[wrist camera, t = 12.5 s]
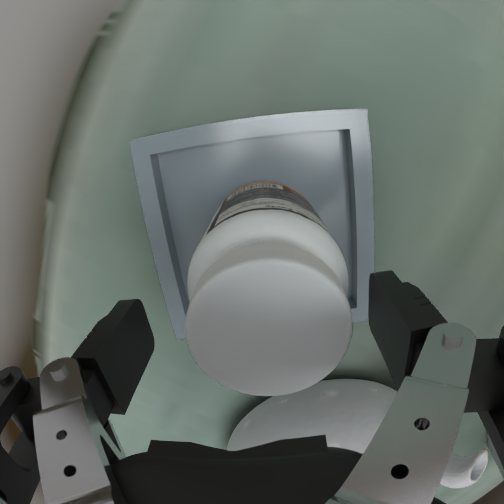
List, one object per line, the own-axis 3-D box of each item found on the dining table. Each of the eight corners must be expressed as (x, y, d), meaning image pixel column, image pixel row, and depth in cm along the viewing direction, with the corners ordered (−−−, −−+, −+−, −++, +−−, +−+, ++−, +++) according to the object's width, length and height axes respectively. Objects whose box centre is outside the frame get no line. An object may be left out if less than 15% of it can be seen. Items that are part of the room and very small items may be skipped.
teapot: (189, 380, 23) (148, 543, 10) (428, 338, 21) (510, 482, 8) (243, 487, 30) (236, 589, 17) (403, 461, 28) (430, 558, 15)
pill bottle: (286, 291, 19) (303, 426, 10) (197, 250, 18) (142, 368, 9) (335, 208, 17) (410, 298, 8) (240, 159, 16) (215, 199, 7)
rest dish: (364, 304, 20) (371, 319, 18) (182, 323, 21) (176, 339, 19) (356, 110, 16) (366, 108, 14) (141, 138, 17) (129, 140, 15)
